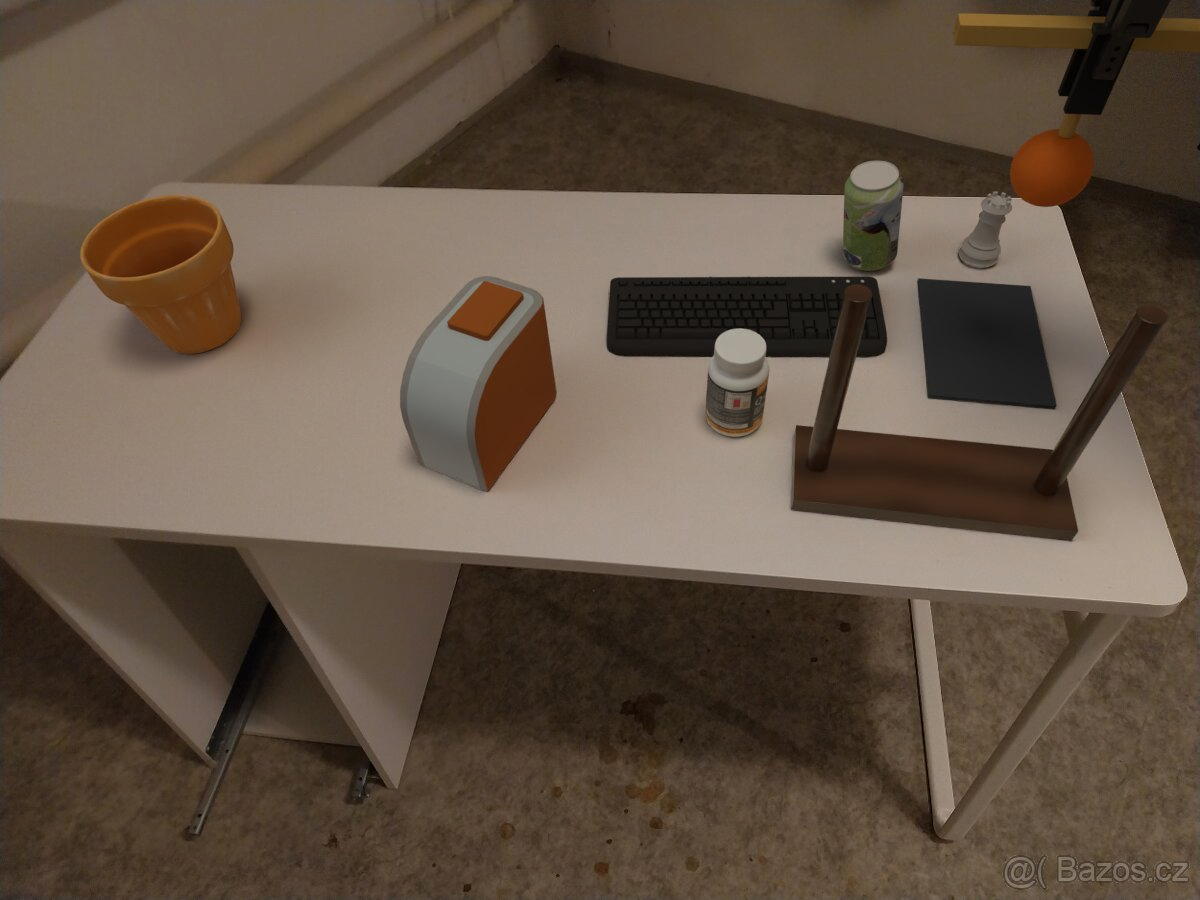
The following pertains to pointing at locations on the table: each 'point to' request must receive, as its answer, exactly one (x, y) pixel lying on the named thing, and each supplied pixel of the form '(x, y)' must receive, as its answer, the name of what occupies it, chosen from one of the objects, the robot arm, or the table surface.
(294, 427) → the table surface
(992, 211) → the rook chess piece
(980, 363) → the slate mat
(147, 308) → the flower pot
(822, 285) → the keyboard
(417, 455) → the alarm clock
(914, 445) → the hanger rack
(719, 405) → the pill bottle
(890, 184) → the beverage can
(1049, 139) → the ball on t-bar
